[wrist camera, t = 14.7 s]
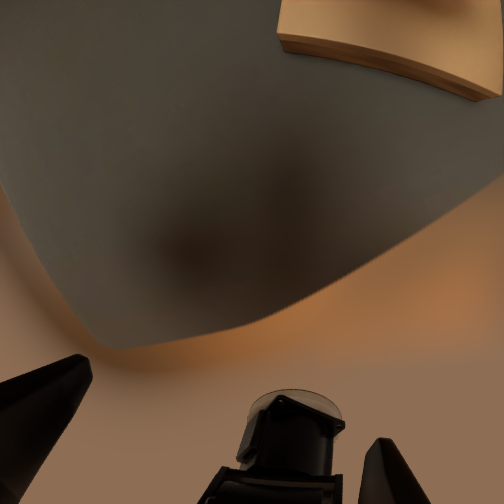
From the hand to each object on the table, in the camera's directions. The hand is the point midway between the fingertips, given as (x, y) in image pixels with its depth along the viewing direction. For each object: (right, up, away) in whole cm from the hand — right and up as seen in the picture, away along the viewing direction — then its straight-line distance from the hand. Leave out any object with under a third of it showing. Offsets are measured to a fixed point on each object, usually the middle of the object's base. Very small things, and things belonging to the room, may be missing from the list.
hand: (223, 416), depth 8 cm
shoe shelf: (+9, +21, +4) cm, 23 cm away
